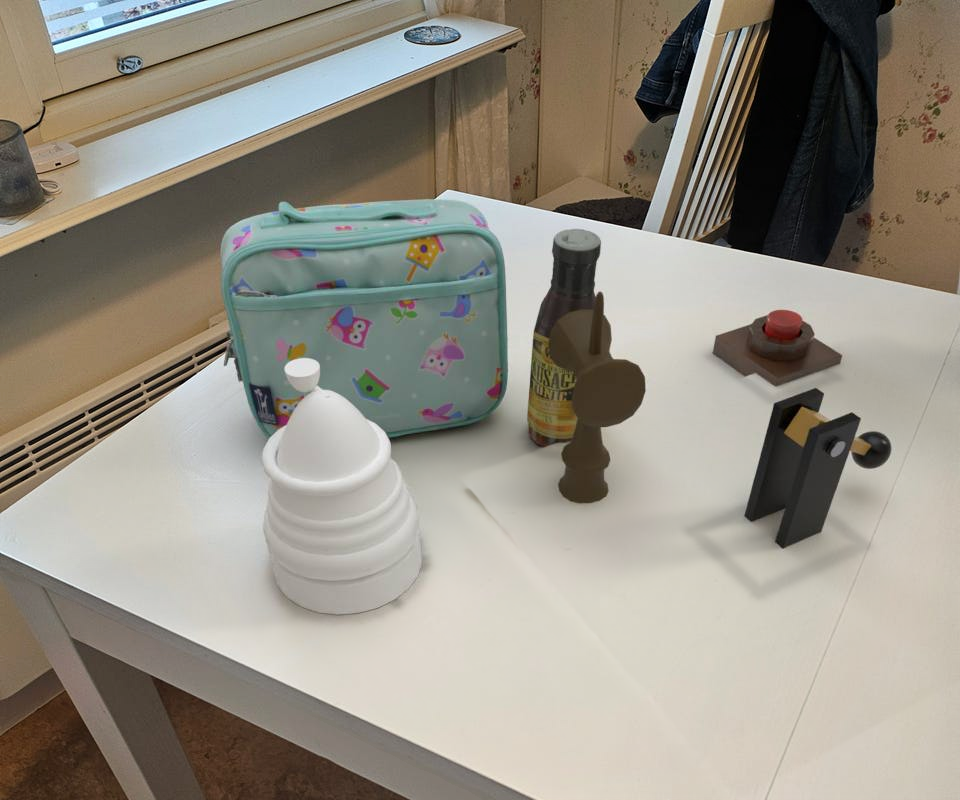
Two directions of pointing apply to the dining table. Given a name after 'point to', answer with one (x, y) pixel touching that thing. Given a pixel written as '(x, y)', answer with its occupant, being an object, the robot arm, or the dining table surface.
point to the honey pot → (337, 505)
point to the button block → (774, 353)
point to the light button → (783, 325)
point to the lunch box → (370, 310)
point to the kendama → (592, 397)
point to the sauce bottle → (566, 294)
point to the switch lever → (865, 449)
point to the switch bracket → (800, 469)
